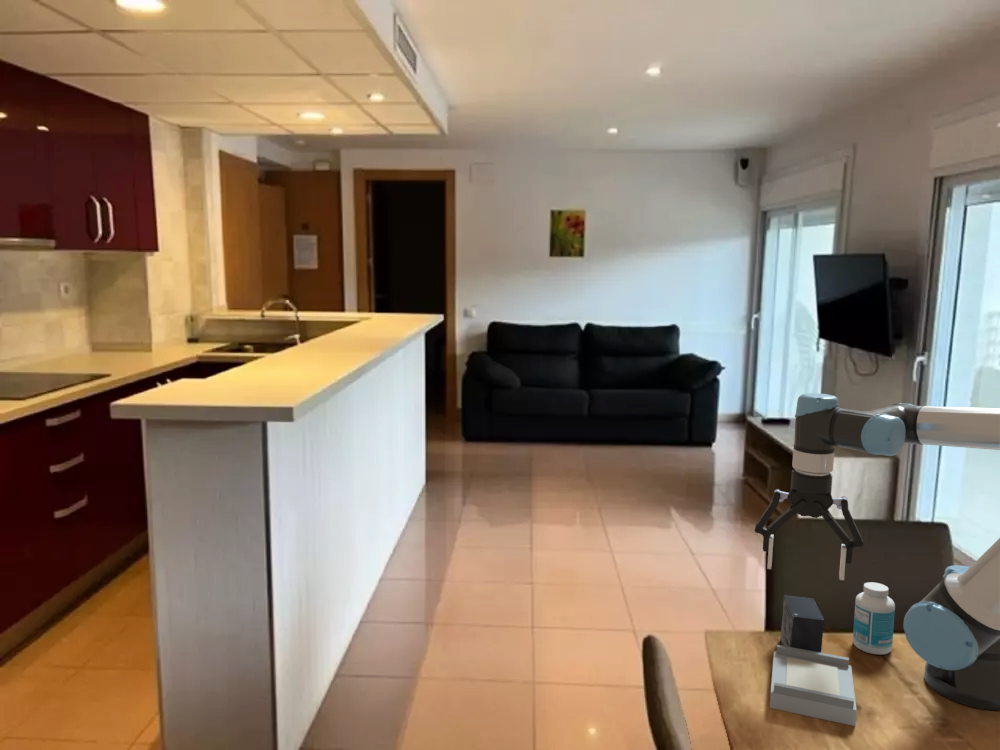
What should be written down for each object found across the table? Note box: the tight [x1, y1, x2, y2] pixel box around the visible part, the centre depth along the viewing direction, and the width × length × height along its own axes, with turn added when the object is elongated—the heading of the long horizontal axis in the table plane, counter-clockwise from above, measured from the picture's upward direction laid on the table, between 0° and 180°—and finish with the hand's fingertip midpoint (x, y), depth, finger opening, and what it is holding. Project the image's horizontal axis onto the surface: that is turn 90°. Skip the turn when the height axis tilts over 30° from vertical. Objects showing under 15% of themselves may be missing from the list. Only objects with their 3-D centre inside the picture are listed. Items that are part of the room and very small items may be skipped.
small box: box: [779, 594, 825, 653], centre depth 151 cm, size 11×6×10 cm, turn 168°
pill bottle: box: [852, 581, 896, 656], centre depth 154 cm, size 8×7×14 cm
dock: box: [769, 644, 857, 727], centre depth 137 cm, size 14×16×4 cm
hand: (804, 572), depth 150 cm, fingers open, 13 cm apart
